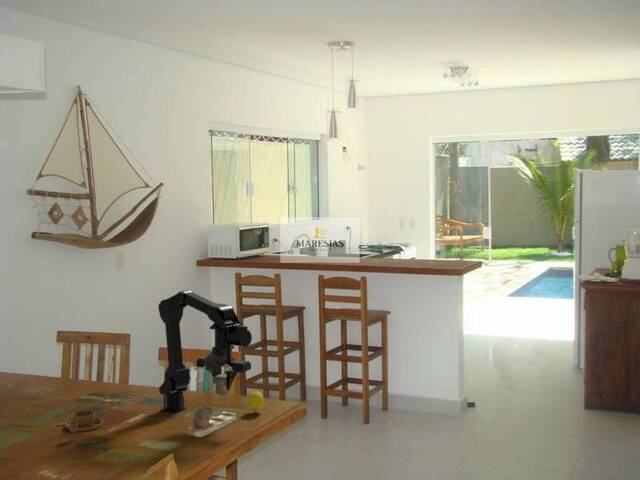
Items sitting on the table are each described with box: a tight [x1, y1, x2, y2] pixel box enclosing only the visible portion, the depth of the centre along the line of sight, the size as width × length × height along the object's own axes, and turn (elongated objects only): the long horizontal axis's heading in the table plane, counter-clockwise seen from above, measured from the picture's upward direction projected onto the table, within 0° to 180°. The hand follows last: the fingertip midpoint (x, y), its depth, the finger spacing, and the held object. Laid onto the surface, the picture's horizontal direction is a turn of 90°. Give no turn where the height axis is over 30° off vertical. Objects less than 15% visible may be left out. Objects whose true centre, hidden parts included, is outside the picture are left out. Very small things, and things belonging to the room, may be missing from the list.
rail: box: [187, 406, 237, 438], centre depth 252 cm, size 5×20×8 cm, turn 154°
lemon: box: [247, 390, 265, 414], centre depth 268 cm, size 6×6×8 cm
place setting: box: [57, 409, 104, 442], centre depth 249 cm, size 18×20×6 cm
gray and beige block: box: [212, 373, 232, 396], centre depth 256 cm, size 4×5×6 cm, turn 153°
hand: (223, 389), depth 257 cm, fingers closed on gray and beige block, 4 cm apart
